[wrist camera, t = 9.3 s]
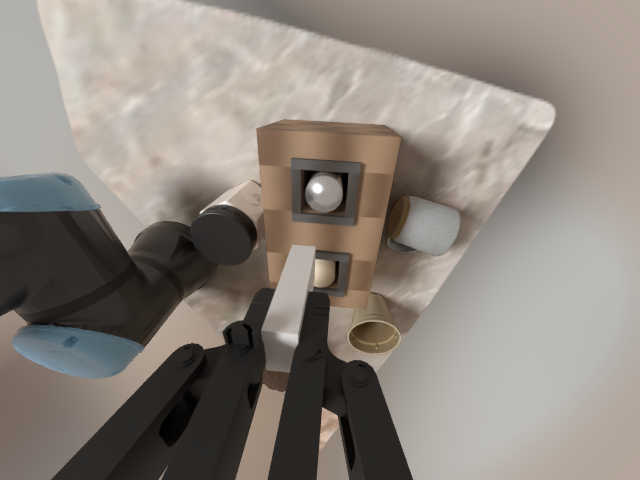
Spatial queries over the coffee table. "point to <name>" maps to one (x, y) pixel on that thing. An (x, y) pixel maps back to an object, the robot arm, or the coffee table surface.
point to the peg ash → (324, 272)
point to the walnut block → (343, 222)
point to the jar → (230, 225)
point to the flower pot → (373, 328)
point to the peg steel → (325, 190)
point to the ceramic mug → (422, 226)
